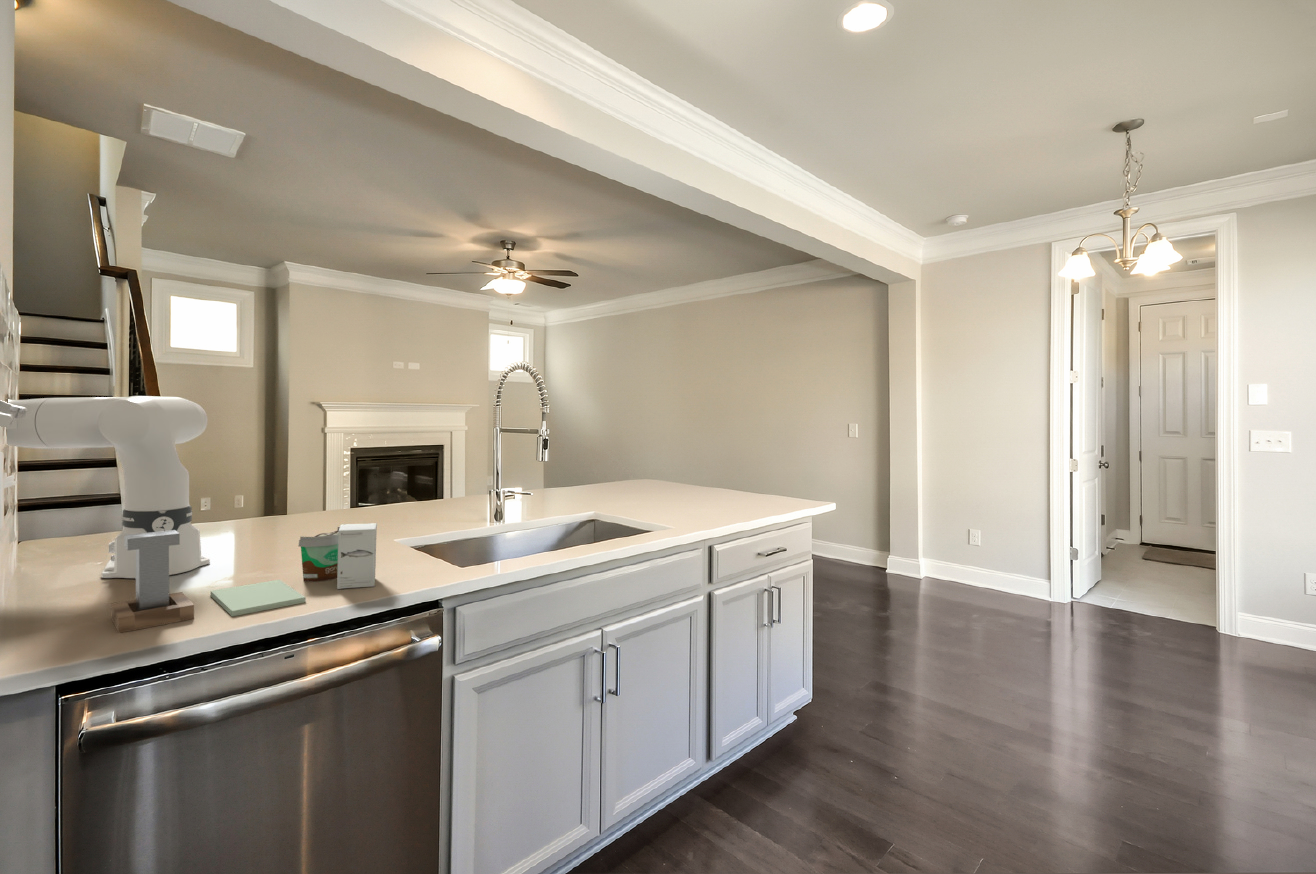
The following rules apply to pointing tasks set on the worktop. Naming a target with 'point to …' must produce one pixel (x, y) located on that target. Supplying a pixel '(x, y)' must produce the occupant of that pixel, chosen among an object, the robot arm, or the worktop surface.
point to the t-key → (152, 566)
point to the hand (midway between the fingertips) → (18, 417)
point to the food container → (320, 556)
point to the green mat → (257, 597)
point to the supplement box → (356, 555)
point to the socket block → (151, 613)
